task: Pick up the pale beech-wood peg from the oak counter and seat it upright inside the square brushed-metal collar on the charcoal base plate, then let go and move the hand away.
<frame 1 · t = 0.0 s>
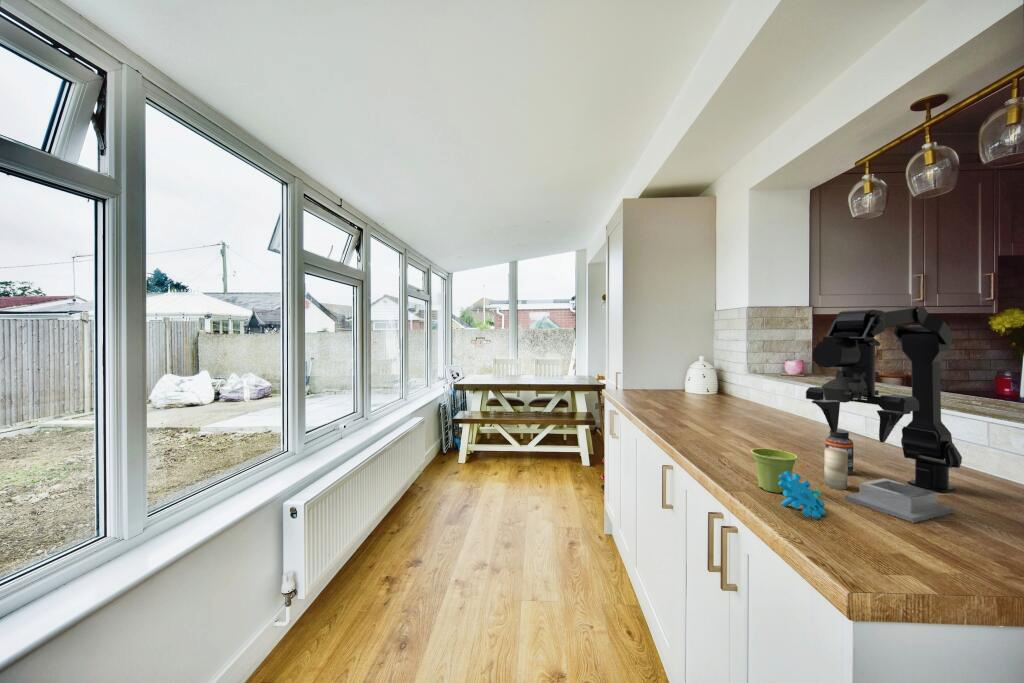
hand: (856, 436, 87), 15 cm above the countertop, tool pointing down, fingers open, 9 cm apart
socket collar: (896, 494, 86), on the socket plate, point 2 cm above the countertop
blue knobbly cluster: (802, 512, 83), on the countertop
plant pot: (773, 489, 95), on the countertop
supplement bottle: (839, 472, 108), on the countertop
socket plate: (896, 505, 86), on the countertop
beech peg: (835, 486, 97), on the countertop
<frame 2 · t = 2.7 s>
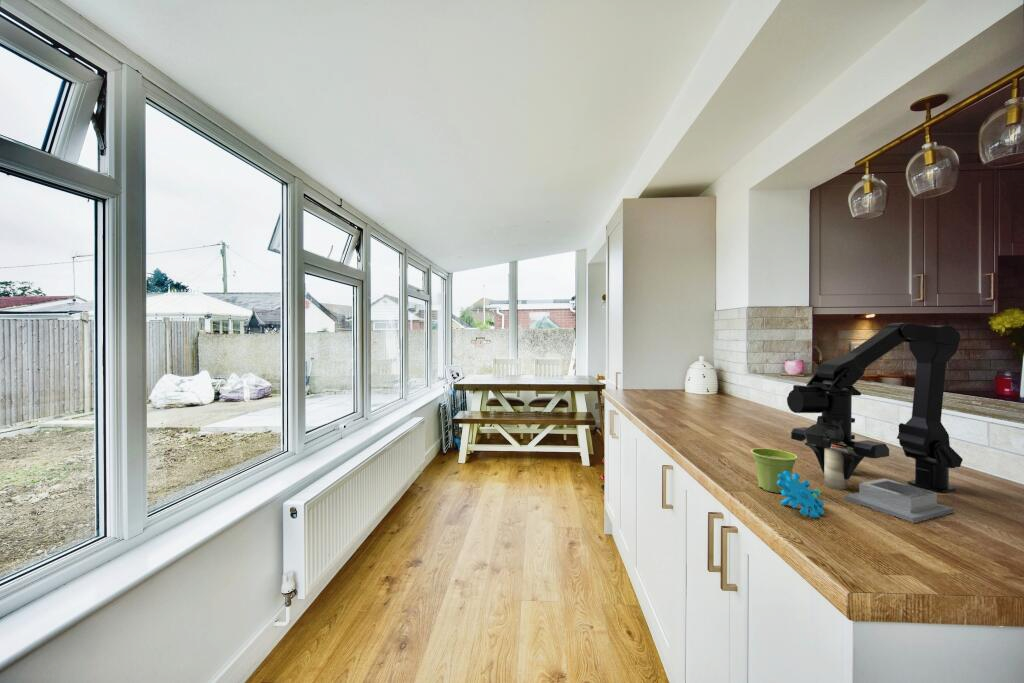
hand: (835, 476, 97), 3 cm above the countertop, tool pointing down, fingers closed on beech peg, 4 cm apart
beech peg: (835, 486, 97), on the countertop, touching gripper
everything else where it was.
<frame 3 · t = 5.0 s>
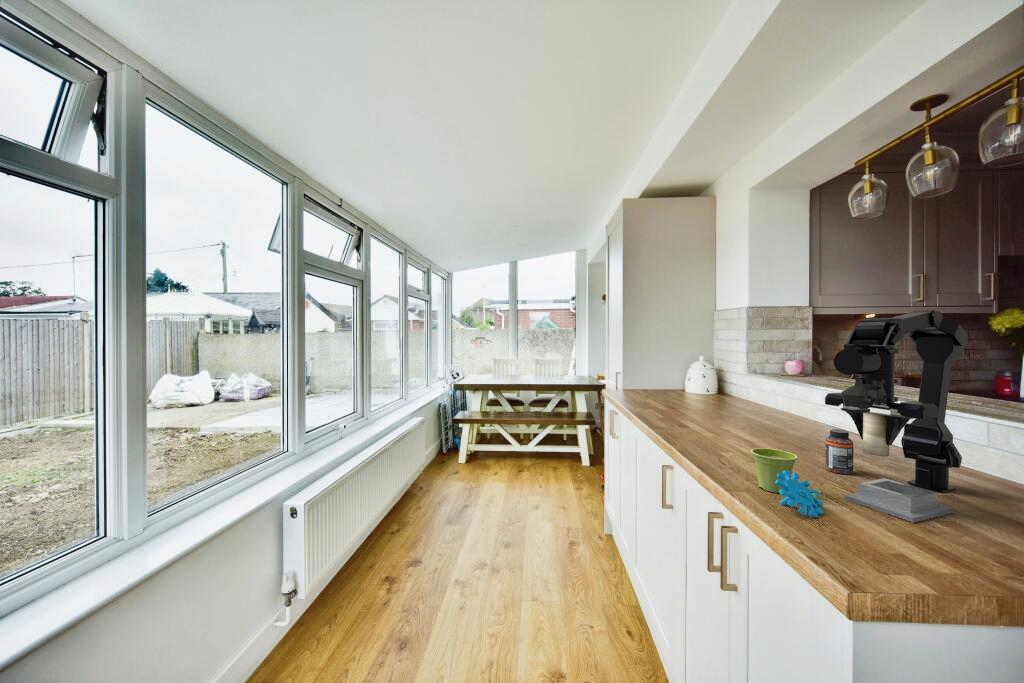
hand: (876, 442, 89), 13 cm above the countertop, tool pointing down, fingers closed on beech peg, 4 cm apart
beech peg: (875, 453, 89), point 10 cm above the countertop, touching gripper
everything else where it was.
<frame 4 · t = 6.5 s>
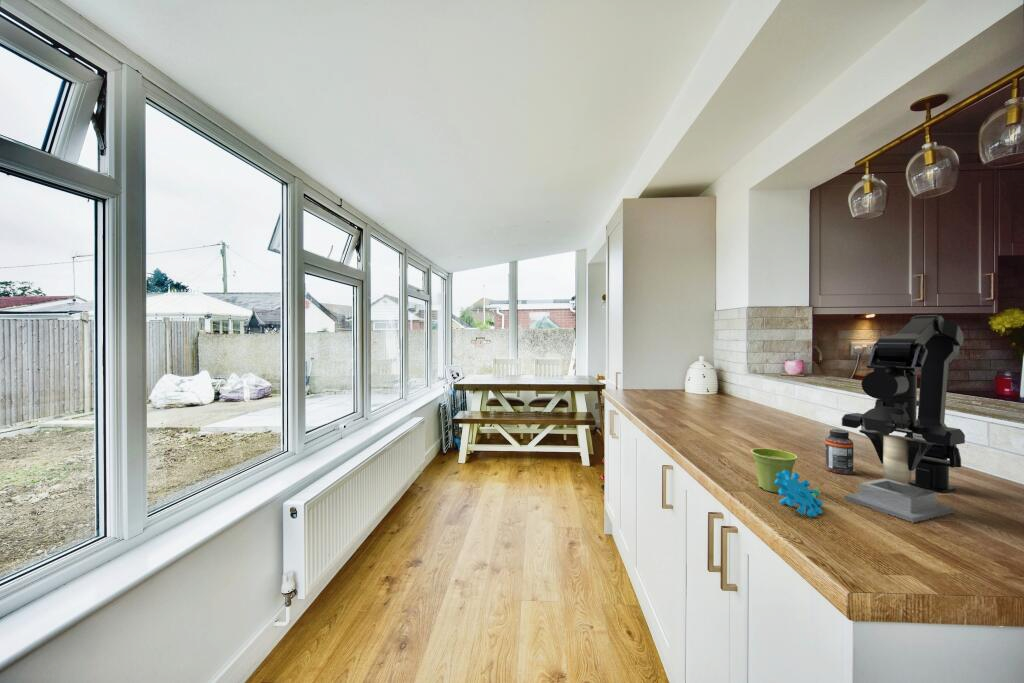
hand: (897, 466, 86), 9 cm above the countertop, tool pointing down, fingers closed on beech peg, 4 cm apart
beech peg: (896, 478, 86), point 6 cm above the countertop, touching gripper
everything else where it was.
when the fingers open (5 cm above the countertop, at t = 7.5 s): beech peg drops 1 cm, resting on socket plate.
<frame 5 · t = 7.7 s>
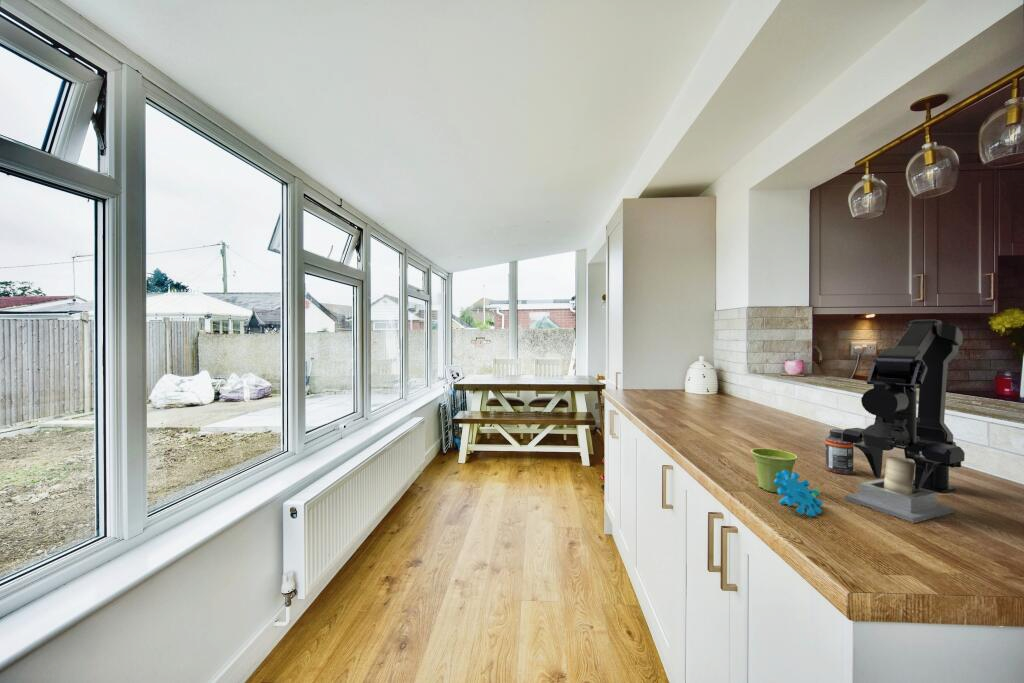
hand: (896, 483, 86), 5 cm above the countertop, tool pointing down, fingers open, 7 cm apart
beech peg: (896, 500, 86), point 1 cm above the countertop, touching socket plate
everything else where it was.
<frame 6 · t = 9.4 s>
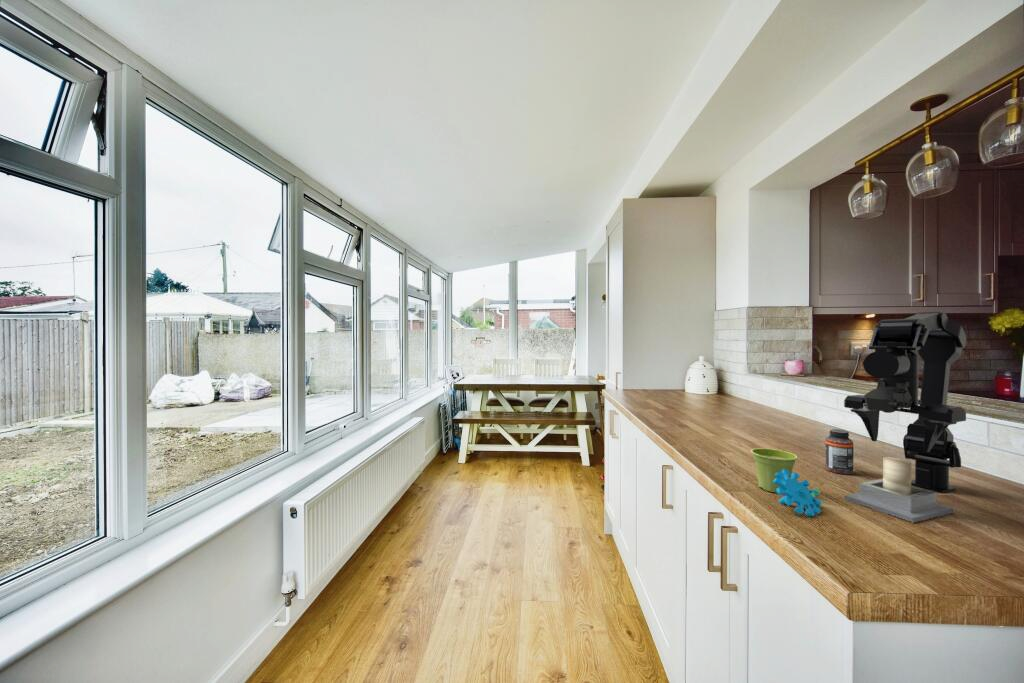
hand: (899, 446, 87), 13 cm above the countertop, tool pointing down, fingers open, 9 cm apart
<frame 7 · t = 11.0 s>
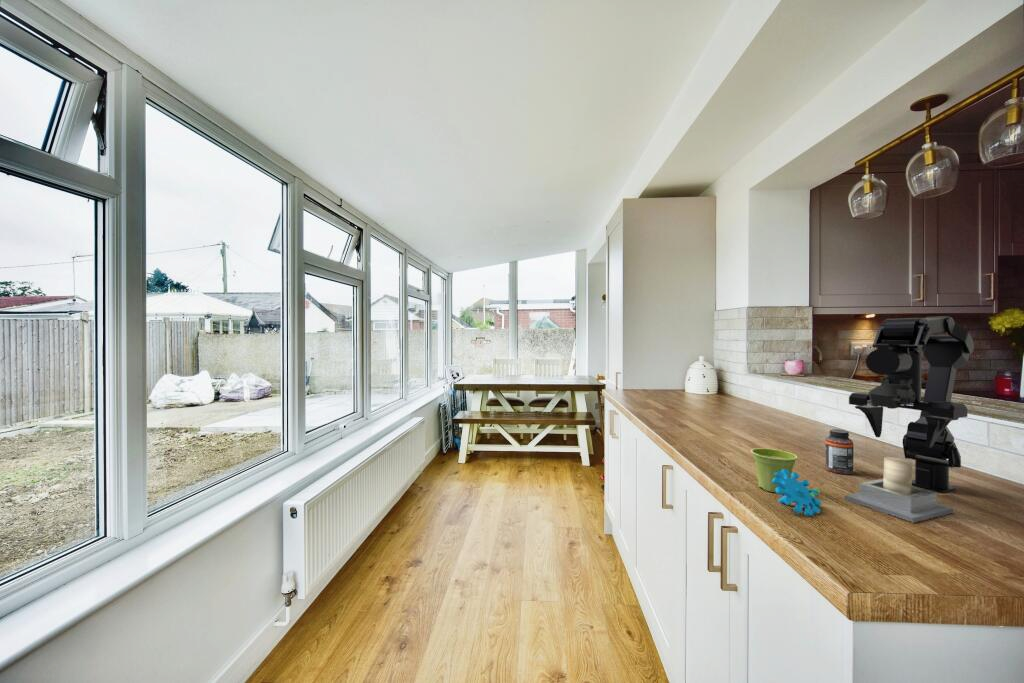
hand: (902, 441, 89), 13 cm above the countertop, tool pointing down, fingers open, 9 cm apart
at the end: beech peg 0.0 cm off-centre on the socket collar, point 1.0 cm above the socket collar's base; beech peg tilted 1°; the gripper is holding nothing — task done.
